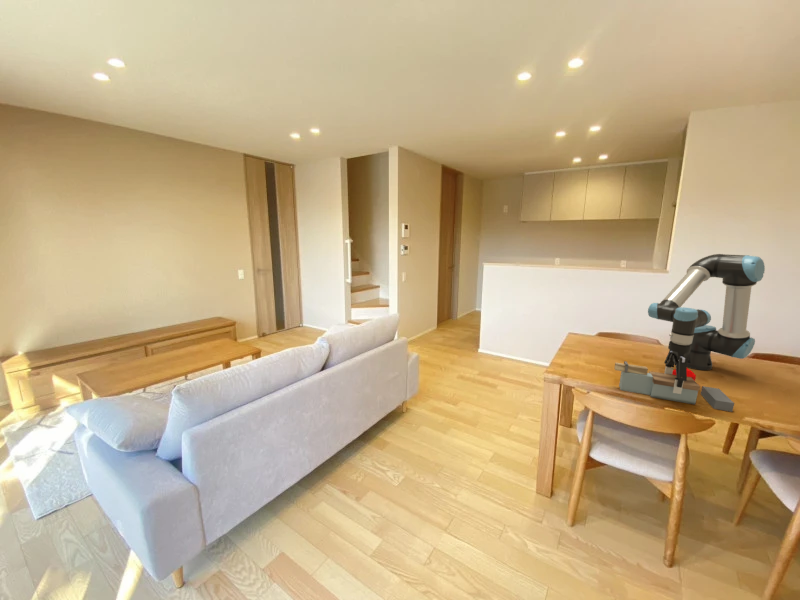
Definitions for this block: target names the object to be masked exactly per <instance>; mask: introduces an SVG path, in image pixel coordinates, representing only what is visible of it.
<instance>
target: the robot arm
mask: <svg viewBox="0 0 800 600" xmlns="http://www.w3.org/2000/svg"><path fill="white" fill-rule="evenodd" d="M765 270H766V267H765V262H764V259H762V258H761V257H760V256H755V255H747V254H723V253H716V254H711V255H707V256H705V257H702V258H700V259H697V260H696V261H695V262H694V263H692V264H691V265H690V266H689V267H688V268H687V269H686V273H685V274H684V276H683V277H682V278H681V279H680V280H679V281H678V283H676V285H675V286H674V287H673V288H672V289H671V290H670V291H669V293H667V295H665V297H664V298H663V299H662V301H660V303H659V302H653V303H651V304H650V305H649V306H648V308H647V309H648V310H647V314H648V316H649V317H650V318H652V319H656V320H661V321H666V322H670V323H672V326H671V330H670V331H671V332H670V334H669V337H670V338H669V340H670V341H669V342H668V350H669V351H668V352H667V353H668V354H667V355H666V357H665V360H664V363H663V364H665V369H664V373H665V374H672V372H673V370H674V368H675V369H676V377H677V378H675V383H674V388H673V393H677V394H681V392H682V387H683V382H684V381H687V368H688V369H692V370H698V371H710V370H712V368H713V361H712V356H711V353H712V352H713V353H717V354H719V355H724V356H728V357H731V358H736V359H740V360H742V359H746V358H747V357H748V356H749V354H750V353H752V350H753V349H754V346H755V343H756V340H755V338H754V337H751V331H748V330H747V326H748V317H749V310H750V309H749V308H750V302H751V294H752V293H751V292H752V287H753V286H755V285H757V283H758V282H760V281H762V280H763V278H764V274H765ZM710 278H717V279H722V282H721V283H722V284H723V285H724V286H725V294H724V295H725V296H724V307H723V318H722V327H721V328H719V329H718V330H717V327H716V326H713V325H708V324H710V322H711V320H712V317H711V314H710V312H708V311H707V310H704V309H700V308H699V309H696V308H692V307H685V306H684V307H682V306H683V305H684V304H685V302H686V301H688V299H689V298H690V297H691V296H692V295H693V294H694V292H695V291H696V290H698V288H699V287H700V286H701V285H702V283H703V282H707V281H708V280H710ZM681 377H682V378H681Z"/></svg>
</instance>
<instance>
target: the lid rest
mask: <svg viewBox="0 0 800 600" xmlns="http://www.w3.org/2000/svg"><path fill="white" fill-rule="evenodd" d="M700 390H701V391H700V395H701V396H702V397H703V398H704V399H705V401H706V402H707V403H708V404H709V405H710V406H711V408H712V409H714V410H718V411H725V412H731V413H733V411H734V406H735V402H734V401H732V400H731V398H729V397H728V396H727V395H726V394H725V393H724V391H722V390H721V389H720V388H717V387H711V386H704V385H703V386H702V387H701V389H700Z"/></svg>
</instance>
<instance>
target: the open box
mask: <svg viewBox="0 0 800 600" xmlns="http://www.w3.org/2000/svg"><path fill="white" fill-rule="evenodd" d="M673 388H674V387H670V386H664V385H658V384H654V383H653V381H652V386H651V391H650V395H649V396H650V398H654V399H661V400H668V401H673V402H679V403H685V404H689V405H696V402H697V398H698V394H699V391H696V390H690V389H683V388H682V392H681V394H677V393H673Z"/></svg>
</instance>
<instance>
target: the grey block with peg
mask: <svg viewBox="0 0 800 600" xmlns="http://www.w3.org/2000/svg"><path fill="white" fill-rule="evenodd" d="M623 364H625V365H626V366H625V372H624V371H620V379H619V383H618V387H620V388H619V390H620V391H623V392H630V393H636V394H641V395H648V396H650V391H651V386H652V380H653V376H652V375H651V373H649V372H647V375H644V374H637V373H630V372H627V371H628V364H629V363H628V361H626V360H625V361H623Z"/></svg>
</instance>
